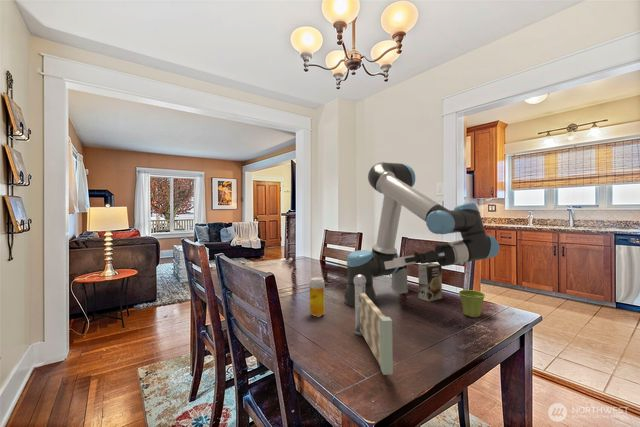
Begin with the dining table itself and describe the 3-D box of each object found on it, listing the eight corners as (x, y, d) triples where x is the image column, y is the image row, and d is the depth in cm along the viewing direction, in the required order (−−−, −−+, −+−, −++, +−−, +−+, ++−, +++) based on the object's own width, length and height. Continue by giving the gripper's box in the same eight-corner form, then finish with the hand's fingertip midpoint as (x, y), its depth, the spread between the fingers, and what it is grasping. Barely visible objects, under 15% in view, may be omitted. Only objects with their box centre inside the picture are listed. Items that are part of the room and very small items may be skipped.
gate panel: (358, 329, 98) (357, 290, 98) (365, 329, 98) (364, 290, 98) (383, 374, 71) (382, 320, 71) (392, 374, 72) (392, 320, 71)
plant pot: (489, 319, 109) (489, 297, 109) (462, 318, 111) (462, 296, 111) (480, 311, 118) (480, 290, 118) (456, 309, 120) (456, 289, 120)
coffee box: (428, 301, 131) (428, 266, 130) (418, 298, 137) (417, 264, 136) (442, 298, 135) (442, 264, 135) (431, 295, 141) (431, 262, 140)
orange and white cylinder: (309, 312, 120) (309, 277, 120) (324, 311, 121) (323, 276, 121) (310, 318, 114) (309, 280, 114) (325, 317, 115) (324, 280, 114)
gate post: (352, 330, 102) (351, 273, 102) (365, 329, 102) (364, 272, 102) (355, 336, 97) (354, 276, 97) (368, 335, 98) (368, 275, 97)
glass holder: (398, 294, 143) (397, 264, 142) (381, 287, 156) (381, 260, 155) (412, 292, 146) (411, 263, 146) (394, 285, 159) (394, 258, 159)
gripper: (472, 261, 84) (402, 274, 83) (438, 266, 108) (384, 276, 107) (464, 236, 86) (396, 248, 85) (433, 247, 110) (379, 256, 109)
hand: (389, 264), depth 96 cm, fingers open, 13 cm apart
